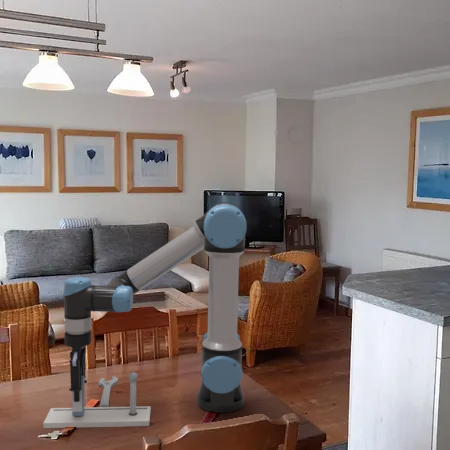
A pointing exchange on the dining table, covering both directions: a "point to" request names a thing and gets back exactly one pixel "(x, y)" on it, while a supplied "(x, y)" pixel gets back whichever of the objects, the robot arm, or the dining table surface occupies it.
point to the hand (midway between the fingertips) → (78, 408)
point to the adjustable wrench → (107, 390)
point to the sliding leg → (82, 400)
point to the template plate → (102, 414)
